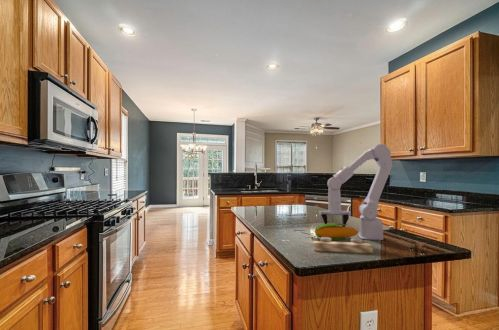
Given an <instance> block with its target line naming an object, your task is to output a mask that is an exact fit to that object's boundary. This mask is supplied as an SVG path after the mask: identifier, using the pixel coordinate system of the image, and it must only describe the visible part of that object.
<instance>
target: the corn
mask: <svg viewBox="0 0 499 330" xmlns="http://www.w3.org/2000/svg"><path fill="white" fill-rule="evenodd" d="M342 225H345V224H342V223H327V224H325V223H322V224H320V225H318V226H317V227H316V228H315V230H314V232H315V236H317V238H319V239H320V238H321V237H329V238H331V241H342V240H344V241H345V240H346V239H347V238H350V237H351V238H352V237H354V236H356V235H358V234H359V233H360V230H357V229H355V228H354V227H349V226H345V227H343V226H342Z"/></svg>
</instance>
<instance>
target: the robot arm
mask: <svg viewBox="0 0 499 330" xmlns="http://www.w3.org/2000/svg"><path fill="white" fill-rule="evenodd" d="M391 153H392V151H391V150H390V149H389V147H388V146H387V145H386V144H383V143H378V144H377V145H373V146H371V147H370V148H369V149H368V148H367V149H366V151H364V152H363V153H361V154H360V155H359V156H358V157H357V158H356V159H355V160H354V161H353V162H352V163H351V164H349V166H348V165H347V166H346V165H344V166H342V167H340V168H339V170H338V171H337V172H336V173H335V174H333V175H332V177H331V178H330V177H329V179H328V180H327V183H326V184H327V187H328V189H327V191H328V192H327V196H328V197H327V199H328V200H327V201H328V202H327V203H328V208H327V210H318V215H319V216H321V218H322V220H323V224H328V216H341V220H342V221H341V222H342V223H341V224H345V225H341V226H343V227H347V223H348V220H349V218H350V217H351V216H352V212H351V211H350V210H342V206H341V205H342V203H341V201H342V200H341V199H342V198H341V195H342V194H341V188H342V187H341V186H342V184H344V183H346V182H347V181H348V180H350V178H351V177H353V176H354V172H355V170H357V169H358V168H359V167H361V166H362V165H363V164H364V163H366V162H367V161H370V160H374V161H375V162H376V164H377V166H378V168H377V171H376V173H375V176H374V178H373V181H372V184H371V186H370V188H369V191H368V193H367V196H366V197H365V198H364V200H363V202H362V203H361V204H360V205H359V207H358V212H359V214H360V216H359V233H358V234H357V235H358V237H359V239H362V240H373V241H374V240H376V241H377V240H381V241H383V240H384V227H383V226H384V225H383V221H382V219H381V218H377V217H378V214H379V212H378V208H379V200H380V198H381V195H382V193H383V190H384V187H385V185H386V182H387V180H388V178H389V176H390V173H391V170H392V169H393V162H392V161H393V160H392V157H391Z"/></svg>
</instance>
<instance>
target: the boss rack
mask: <svg viewBox="0 0 499 330" xmlns="http://www.w3.org/2000/svg"><path fill="white" fill-rule="evenodd" d="M319 239H320V240H313V250H314V251H318V252H319V251H320V252H340V253H341V252H342V253H360V254H361V253H363V254H374V246H373V244H372V243H371V242H363V239H361V238H360V237H359V238H357V237H351V238H350V242H348V241H332V240H331V238H329V237H321V238H319Z"/></svg>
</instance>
